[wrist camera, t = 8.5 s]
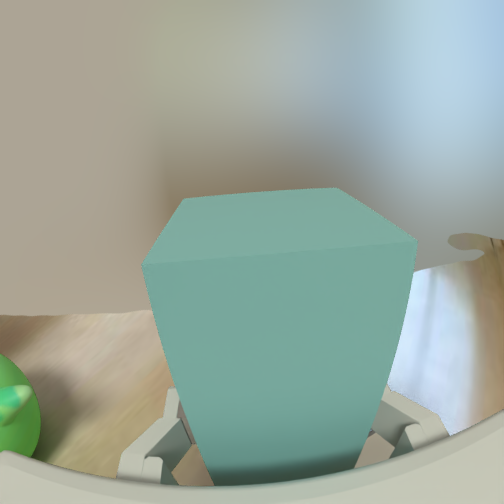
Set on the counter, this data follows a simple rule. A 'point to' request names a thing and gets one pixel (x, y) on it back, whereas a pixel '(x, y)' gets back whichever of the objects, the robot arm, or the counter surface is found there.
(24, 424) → the toy bird
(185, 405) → the column
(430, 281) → the counter surface
